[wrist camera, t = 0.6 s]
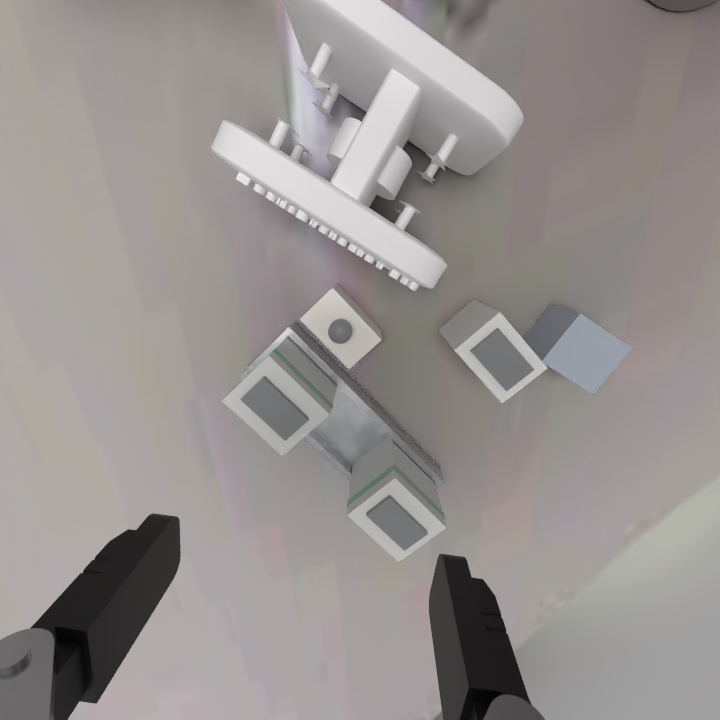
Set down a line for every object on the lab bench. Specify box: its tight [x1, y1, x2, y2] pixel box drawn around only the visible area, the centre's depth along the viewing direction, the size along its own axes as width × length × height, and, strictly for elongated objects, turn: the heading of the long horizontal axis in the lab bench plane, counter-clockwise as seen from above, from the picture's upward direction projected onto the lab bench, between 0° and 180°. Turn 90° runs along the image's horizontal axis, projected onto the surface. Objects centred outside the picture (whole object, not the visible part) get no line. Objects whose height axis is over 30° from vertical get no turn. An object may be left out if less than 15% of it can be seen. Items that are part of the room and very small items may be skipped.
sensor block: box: [300, 284, 382, 369], centre depth 31 cm, size 4×6×5 cm, turn 43°
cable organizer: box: [211, 0, 523, 291], centre depth 25 cm, size 15×11×12 cm
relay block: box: [523, 304, 633, 395], centre depth 31 cm, size 4×5×5 cm
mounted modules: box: [222, 336, 447, 562], centre depth 31 cm, size 5×19×7 cm, turn 43°
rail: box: [238, 322, 444, 486], centre depth 35 cm, size 6×20×2 cm, turn 43°
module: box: [439, 299, 548, 403], centre depth 30 cm, size 4×6×7 cm
